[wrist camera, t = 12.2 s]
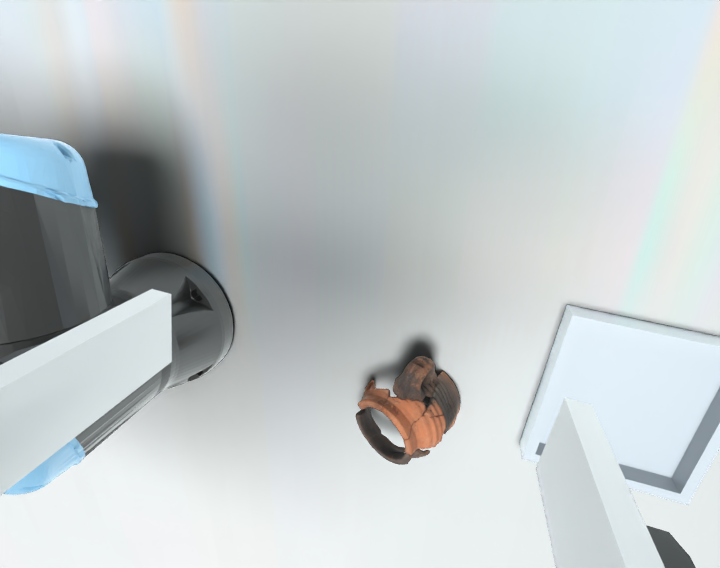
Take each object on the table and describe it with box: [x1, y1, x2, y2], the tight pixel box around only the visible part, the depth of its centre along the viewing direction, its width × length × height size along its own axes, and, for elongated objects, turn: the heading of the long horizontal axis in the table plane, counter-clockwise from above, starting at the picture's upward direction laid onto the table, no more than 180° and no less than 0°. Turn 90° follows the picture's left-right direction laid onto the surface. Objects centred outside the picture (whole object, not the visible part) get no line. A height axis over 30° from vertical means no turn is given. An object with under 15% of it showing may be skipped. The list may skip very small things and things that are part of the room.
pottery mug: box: [356, 356, 460, 465], centre depth 43 cm, size 12×9×8 cm
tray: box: [520, 305, 720, 505], centre depth 39 cm, size 15×16×2 cm
